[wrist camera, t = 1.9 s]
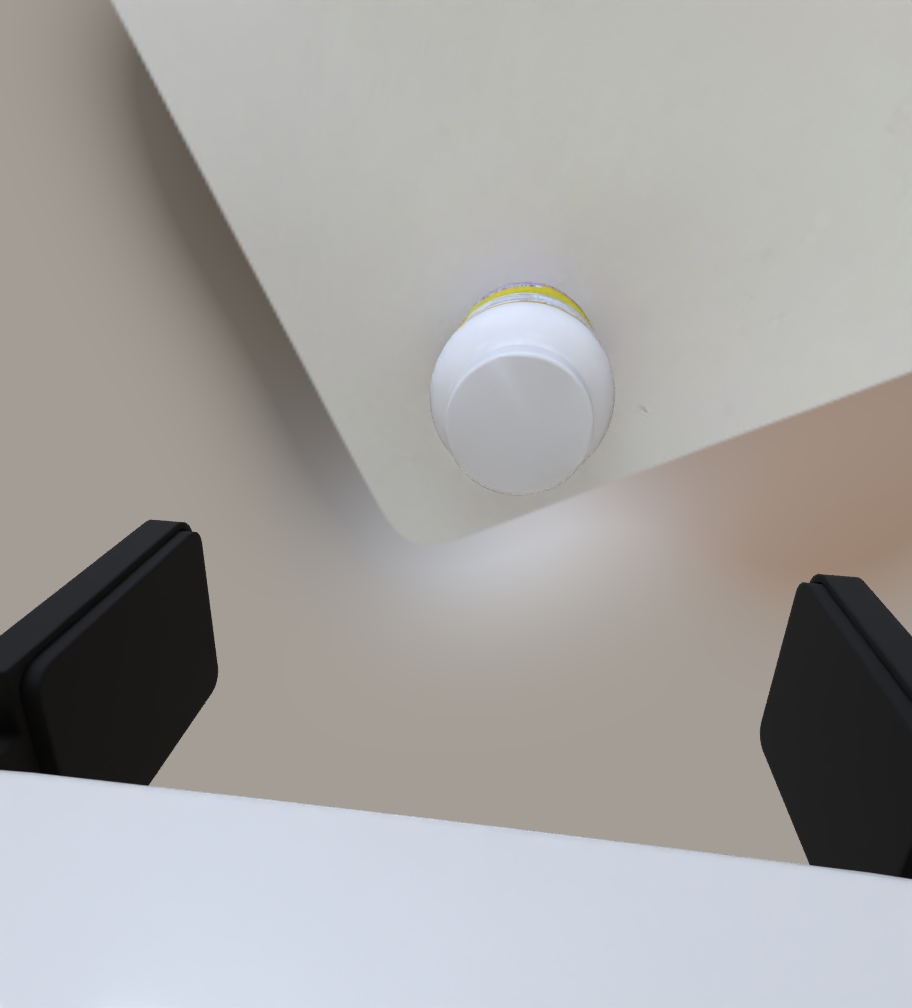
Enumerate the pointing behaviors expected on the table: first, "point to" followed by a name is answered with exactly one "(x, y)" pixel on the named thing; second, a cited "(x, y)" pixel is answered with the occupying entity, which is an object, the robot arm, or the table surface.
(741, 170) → the table surface
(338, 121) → the table surface
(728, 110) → the table surface
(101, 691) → the robot arm
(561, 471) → the supplement bottle
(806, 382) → the table surface
